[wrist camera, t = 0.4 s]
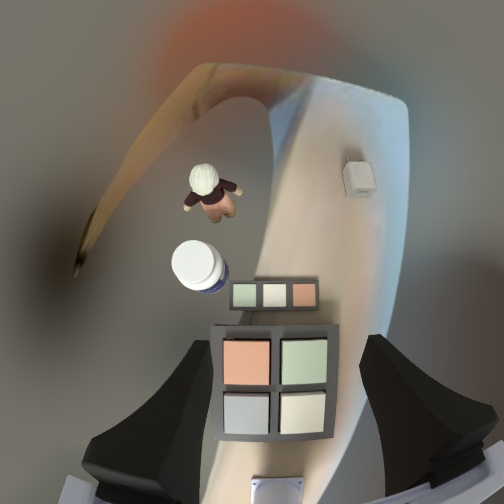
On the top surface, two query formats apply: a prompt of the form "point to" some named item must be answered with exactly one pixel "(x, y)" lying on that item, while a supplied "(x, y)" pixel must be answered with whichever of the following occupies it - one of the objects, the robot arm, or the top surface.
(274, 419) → the keyguard pad
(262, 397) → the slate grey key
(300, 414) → the ivory key
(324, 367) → the sage key
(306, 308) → the strip
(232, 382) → the terracotta key
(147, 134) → the top surface
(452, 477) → the robot arm
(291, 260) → the top surface
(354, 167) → the usb wall charger
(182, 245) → the pill bottle
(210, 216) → the grandmother figurine
